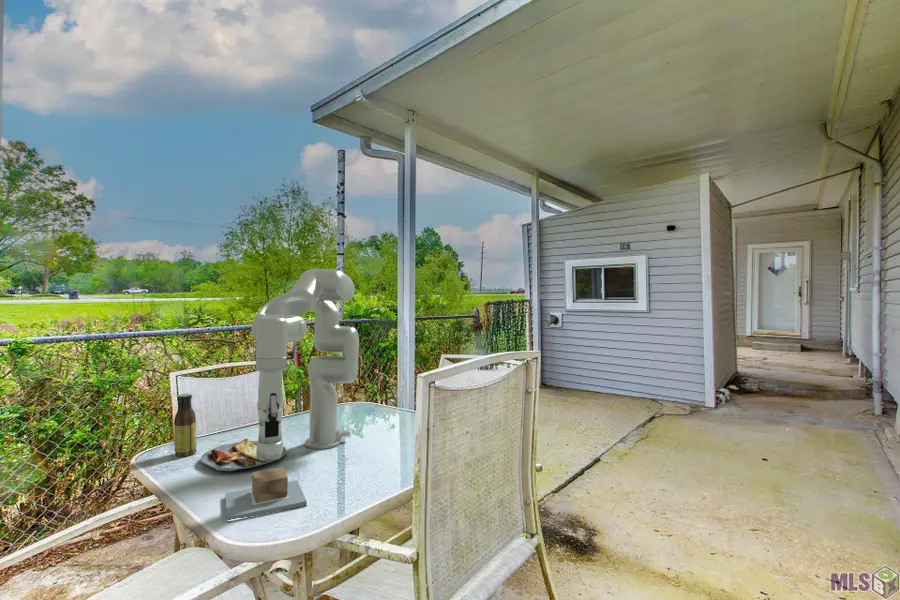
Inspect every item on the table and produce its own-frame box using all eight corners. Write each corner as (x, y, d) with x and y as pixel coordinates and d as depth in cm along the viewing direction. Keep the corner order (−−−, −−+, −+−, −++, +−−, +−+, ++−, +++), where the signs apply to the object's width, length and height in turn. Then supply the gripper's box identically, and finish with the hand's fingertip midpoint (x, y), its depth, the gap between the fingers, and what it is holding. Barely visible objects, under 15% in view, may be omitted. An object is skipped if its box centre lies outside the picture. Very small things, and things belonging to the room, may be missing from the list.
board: (297, 484, 121) (297, 479, 121) (306, 505, 109) (306, 500, 109) (225, 497, 112) (225, 492, 112) (226, 522, 100) (226, 517, 100)
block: (282, 485, 117) (282, 467, 117) (287, 496, 111) (287, 477, 111) (252, 491, 113) (252, 472, 113) (255, 503, 107) (256, 483, 107)
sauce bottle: (190, 449, 146) (191, 391, 146) (200, 453, 143) (201, 393, 143) (169, 455, 141) (170, 394, 141) (179, 459, 137) (180, 397, 137)
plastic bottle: (288, 456, 114) (290, 381, 114) (270, 465, 107) (271, 386, 107) (269, 453, 116) (270, 379, 116) (250, 462, 110) (251, 384, 110)
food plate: (187, 460, 136) (188, 449, 136) (256, 442, 155) (256, 432, 155) (229, 483, 122) (229, 470, 122) (299, 459, 141) (299, 449, 141)
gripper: (253, 360, 117) (251, 426, 117) (258, 370, 102) (257, 445, 102) (282, 358, 121) (281, 422, 121) (291, 368, 106) (290, 440, 106)
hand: (270, 432), depth 112 cm, fingers closed on plastic bottle, 5 cm apart
